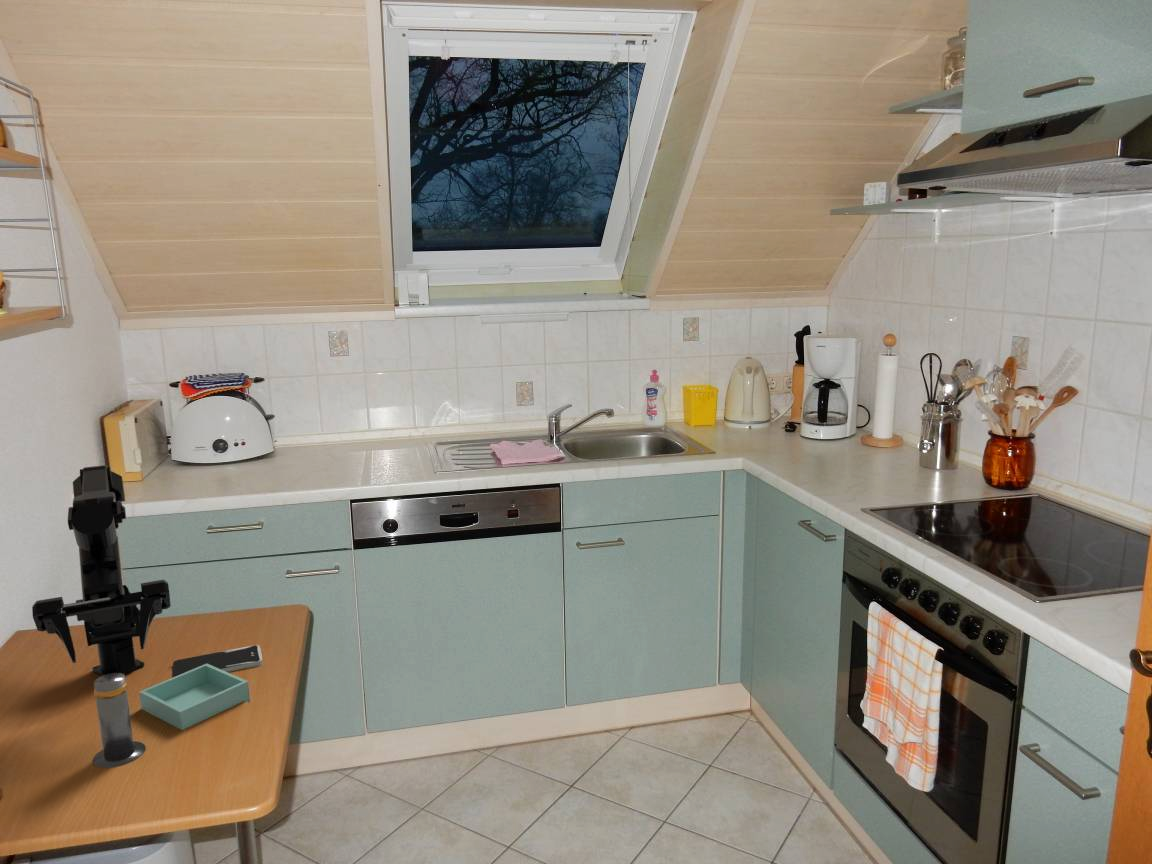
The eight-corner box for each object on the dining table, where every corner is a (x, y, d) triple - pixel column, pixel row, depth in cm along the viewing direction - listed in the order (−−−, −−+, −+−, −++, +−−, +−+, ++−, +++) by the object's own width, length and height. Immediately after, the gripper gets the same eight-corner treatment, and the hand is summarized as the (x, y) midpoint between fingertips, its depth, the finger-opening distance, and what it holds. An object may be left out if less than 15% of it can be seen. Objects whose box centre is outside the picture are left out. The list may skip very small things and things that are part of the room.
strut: (97, 756, 127) (87, 681, 125) (126, 743, 131) (116, 670, 128) (112, 765, 125) (102, 689, 123) (140, 751, 128) (131, 677, 126)
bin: (141, 712, 141) (139, 691, 140) (208, 682, 151) (206, 663, 150) (182, 733, 134) (180, 712, 133) (250, 701, 144) (248, 681, 143)
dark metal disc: (84, 761, 127) (83, 757, 127) (130, 739, 133) (130, 736, 133) (108, 776, 123) (107, 773, 123) (155, 753, 129) (155, 750, 129)
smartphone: (173, 660, 158) (259, 644, 164) (173, 667, 158) (260, 650, 164) (172, 678, 151) (262, 660, 157) (173, 685, 151) (263, 667, 157)
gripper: (166, 577, 149) (177, 661, 142) (40, 598, 141) (45, 688, 133) (163, 546, 141) (174, 633, 134) (29, 566, 133) (34, 661, 125)
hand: (108, 655), depth 132 cm, fingers open, 9 cm apart
